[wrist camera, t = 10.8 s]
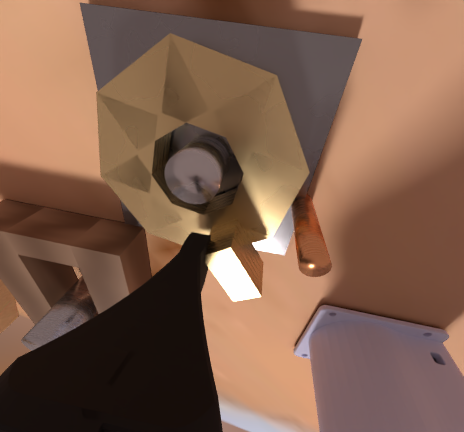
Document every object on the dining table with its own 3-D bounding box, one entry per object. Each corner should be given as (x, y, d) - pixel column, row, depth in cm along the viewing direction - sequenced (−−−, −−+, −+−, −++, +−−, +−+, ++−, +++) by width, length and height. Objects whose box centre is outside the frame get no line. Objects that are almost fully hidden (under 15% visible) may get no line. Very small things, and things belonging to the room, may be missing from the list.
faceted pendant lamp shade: (248, -6, 7) (229, -70, 4) (326, 224, 12) (347, 281, 9) (87, 116, 11) (5, 135, 7) (195, 260, 15) (174, 311, 12)
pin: (109, 274, 19) (53, 343, 14) (116, 294, 21) (68, 362, 16) (79, 268, 20) (13, 334, 15) (88, 289, 21) (32, 353, 16)
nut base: (373, 43, 8) (474, 11, 4) (293, 250, 14) (301, 321, 10) (90, 6, 9) (-65, -52, 5) (130, 218, 15) (76, 272, 11)
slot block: (144, 226, 15) (119, 255, 13) (160, 337, 24) (147, 366, 22) (5, 199, 16) (-44, 221, 14) (70, 316, 25) (48, 342, 23)
